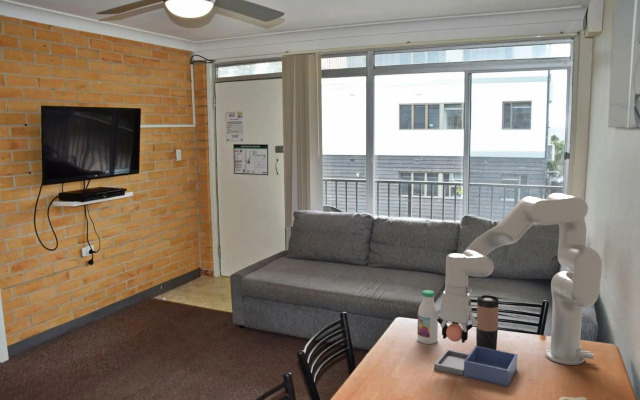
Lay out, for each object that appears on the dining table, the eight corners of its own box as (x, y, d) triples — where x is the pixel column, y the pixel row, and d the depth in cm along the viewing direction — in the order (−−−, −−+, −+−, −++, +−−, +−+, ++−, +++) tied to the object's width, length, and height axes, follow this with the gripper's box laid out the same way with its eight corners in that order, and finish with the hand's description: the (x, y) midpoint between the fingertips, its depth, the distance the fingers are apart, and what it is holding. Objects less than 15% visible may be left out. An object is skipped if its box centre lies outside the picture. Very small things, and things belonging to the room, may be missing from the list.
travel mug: (498, 354, 189) (500, 302, 187) (476, 353, 191) (478, 301, 188) (495, 346, 197) (497, 295, 194) (474, 344, 198) (476, 294, 196)
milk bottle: (430, 335, 208) (431, 287, 205) (441, 343, 200) (442, 293, 198) (413, 338, 205) (414, 289, 202) (423, 345, 198) (424, 295, 195)
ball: (465, 339, 181) (466, 323, 181) (460, 345, 176) (461, 328, 175) (448, 336, 184) (449, 320, 184) (443, 342, 179) (443, 325, 179)
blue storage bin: (516, 369, 177) (517, 354, 177) (507, 387, 165) (508, 370, 165) (475, 360, 185) (475, 345, 184) (463, 376, 173) (464, 360, 172)
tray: (474, 360, 185) (474, 355, 185) (462, 376, 173) (463, 370, 173) (446, 354, 190) (447, 349, 190) (434, 369, 178) (434, 363, 178)
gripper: (484, 290, 177) (482, 341, 179) (435, 283, 186) (434, 331, 188) (478, 296, 170) (476, 348, 173) (428, 288, 179) (427, 337, 182)
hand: (454, 338), depth 180 cm, fingers closed on ball, 5 cm apart
